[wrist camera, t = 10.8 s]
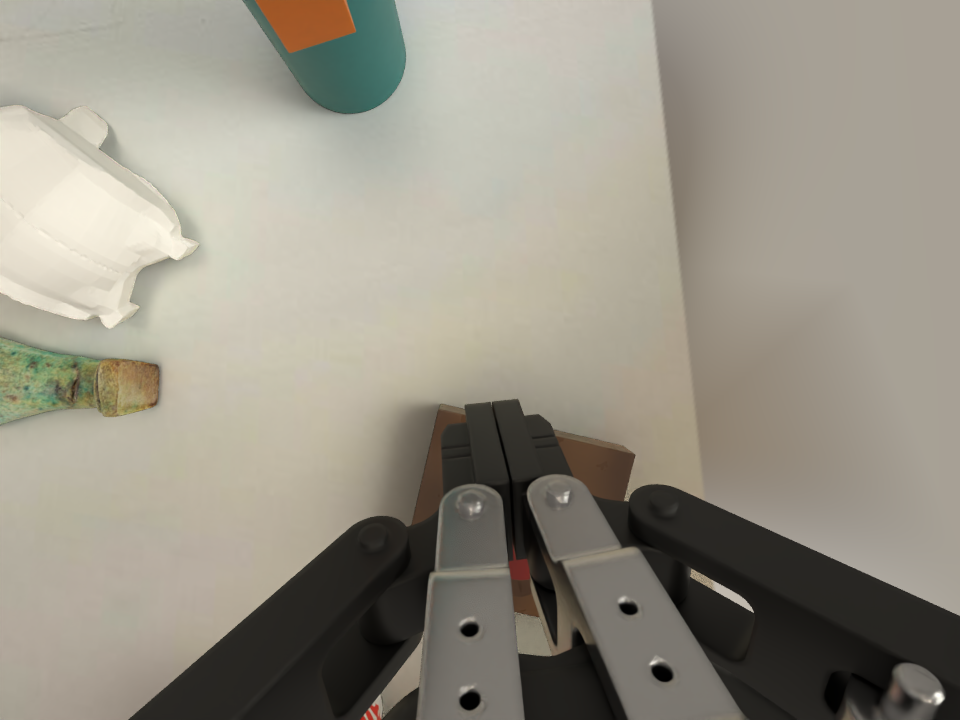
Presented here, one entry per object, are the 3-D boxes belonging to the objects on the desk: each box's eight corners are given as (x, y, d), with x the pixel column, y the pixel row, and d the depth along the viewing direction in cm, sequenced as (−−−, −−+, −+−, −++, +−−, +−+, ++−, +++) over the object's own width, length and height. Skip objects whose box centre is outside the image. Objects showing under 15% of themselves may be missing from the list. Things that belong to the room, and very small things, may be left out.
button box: (623, 445, 29) (647, 462, 25) (583, 608, 30) (600, 649, 26) (441, 403, 29) (436, 413, 25) (402, 567, 30) (391, 603, 26)
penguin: (227, 224, 31) (-30, 4, 25) (194, 233, 24) (-187, -80, 18) (134, 322, 32) (-143, 127, 26) (71, 362, 24) (-348, 96, 18)
